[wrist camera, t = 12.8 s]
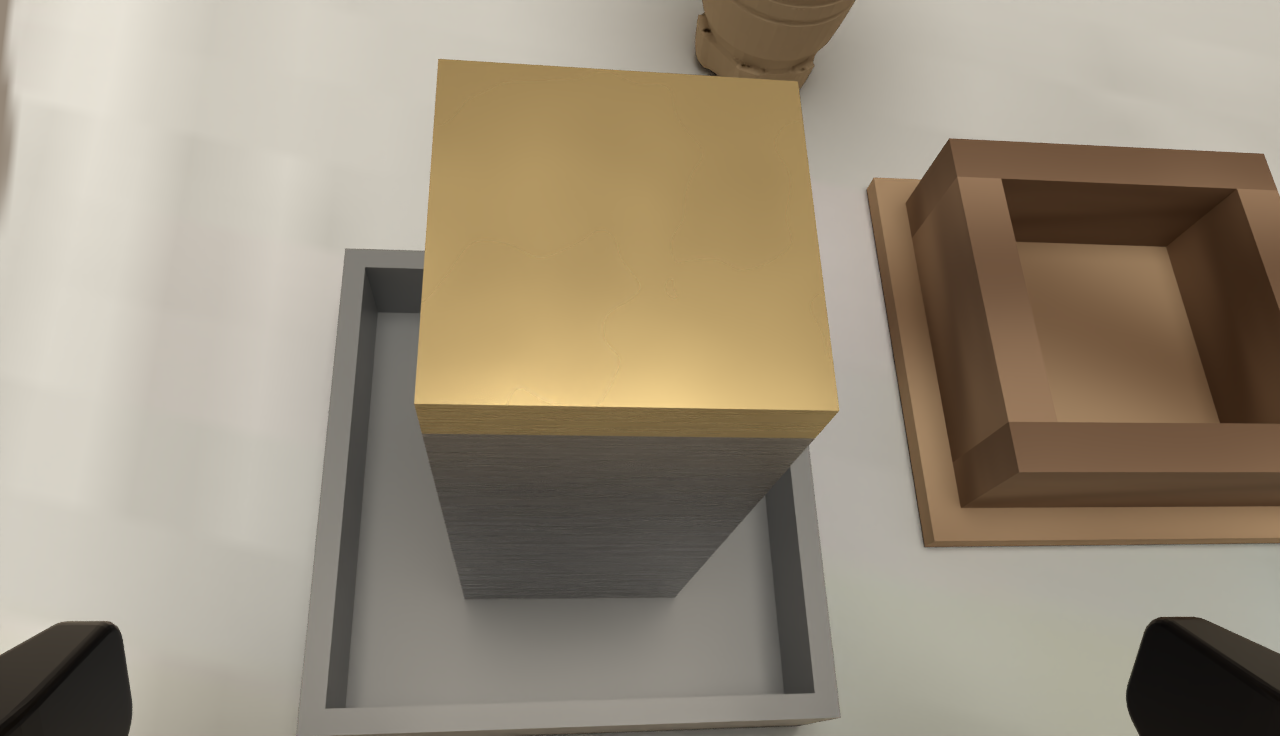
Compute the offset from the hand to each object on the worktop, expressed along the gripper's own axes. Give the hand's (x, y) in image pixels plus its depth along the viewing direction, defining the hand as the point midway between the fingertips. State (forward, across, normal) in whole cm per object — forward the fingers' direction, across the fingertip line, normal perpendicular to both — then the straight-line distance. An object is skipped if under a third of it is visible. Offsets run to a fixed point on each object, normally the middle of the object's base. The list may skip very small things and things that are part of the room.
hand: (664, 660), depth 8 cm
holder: (+13, -12, +2) cm, 17 cm away
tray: (+10, 0, +4) cm, 11 cm away
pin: (+10, 0, +4) cm, 11 cm away
